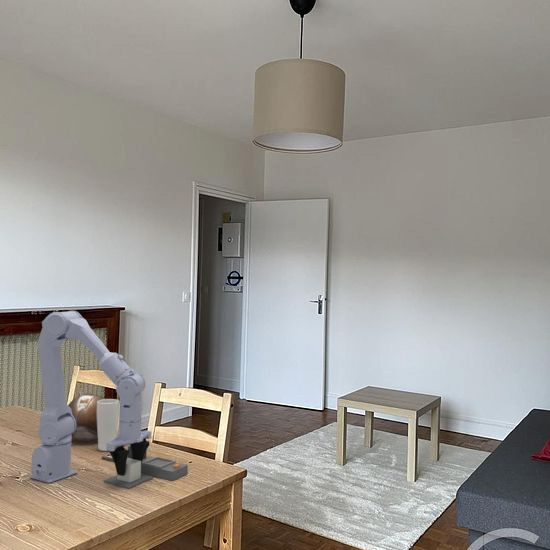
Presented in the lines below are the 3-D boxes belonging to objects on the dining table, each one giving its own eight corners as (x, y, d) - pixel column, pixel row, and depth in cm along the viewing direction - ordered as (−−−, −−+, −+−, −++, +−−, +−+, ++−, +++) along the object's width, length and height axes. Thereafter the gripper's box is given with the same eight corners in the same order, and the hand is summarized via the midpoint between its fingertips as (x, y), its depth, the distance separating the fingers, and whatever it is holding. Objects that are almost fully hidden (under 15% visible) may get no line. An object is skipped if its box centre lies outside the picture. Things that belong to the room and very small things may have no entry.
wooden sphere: (60, 447, 174) (62, 399, 174) (65, 434, 189) (66, 390, 189) (110, 444, 178) (111, 398, 178) (111, 432, 193) (112, 389, 193)
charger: (129, 482, 144) (130, 465, 144) (117, 479, 146) (117, 462, 146) (140, 477, 148) (141, 460, 148) (128, 474, 150) (128, 457, 150)
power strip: (172, 480, 147) (172, 458, 147) (94, 461, 161) (94, 441, 161) (187, 473, 153) (188, 452, 153) (110, 455, 167) (111, 436, 167)
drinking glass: (104, 453, 169) (105, 404, 169) (90, 449, 173) (92, 401, 173) (122, 448, 174) (123, 400, 174) (109, 444, 178) (110, 397, 179)
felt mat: (129, 488, 141) (129, 487, 141) (103, 481, 145) (103, 480, 145) (153, 478, 149) (153, 476, 149) (128, 472, 153) (128, 470, 153)
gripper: (121, 428, 139) (119, 482, 139) (160, 416, 152) (158, 466, 151) (101, 424, 142) (99, 477, 142) (140, 413, 155) (139, 462, 155)
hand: (128, 471), depth 147 cm, fingers open, 5 cm apart
